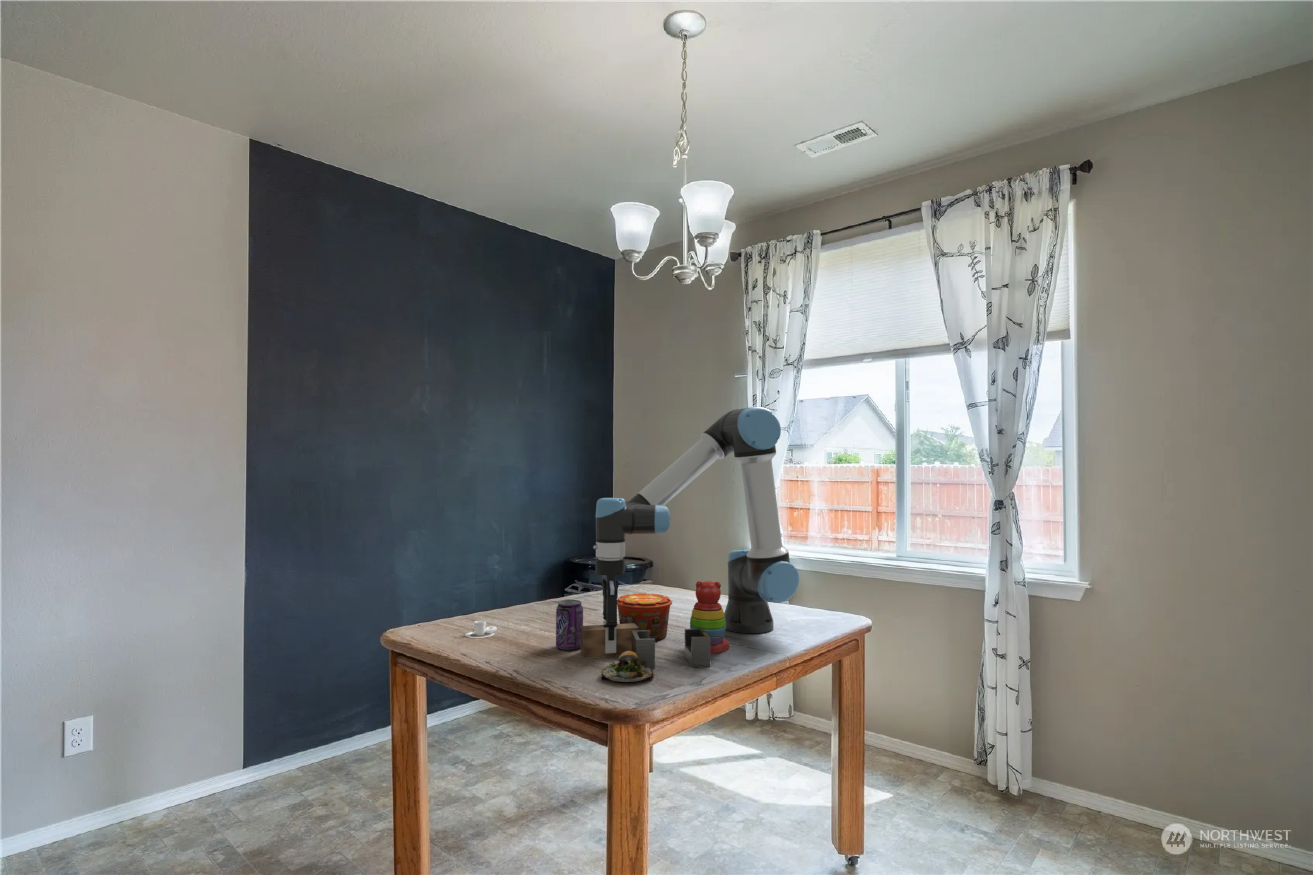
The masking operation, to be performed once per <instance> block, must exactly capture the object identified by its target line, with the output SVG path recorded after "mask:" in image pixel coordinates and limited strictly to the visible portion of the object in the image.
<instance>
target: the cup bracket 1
mask: <svg viewBox="0 0 1313 875" xmlns="http://www.w3.org/2000/svg"><path fill="white" fill-rule="evenodd" d="M632 652H634V653H636V654H637V657H638V660H637V662H640V663H641V665H643V666H646V667H649V668H651V669H652V670H655V669H656V641H655V639H654V638H650V630H638V631H632Z"/></svg>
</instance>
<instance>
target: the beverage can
mask: <svg viewBox="0 0 1313 875" xmlns="http://www.w3.org/2000/svg"><path fill="white" fill-rule="evenodd" d="M557 604H558V605H557V607H556V609H555V646H556V647H557V648H558V649H560V650H562V651H574V650H578V649H579V648H581V626H584V608H583V604H582V601H581V600H578V599H562V600H559V601H558V602H557Z"/></svg>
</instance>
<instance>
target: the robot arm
mask: <svg viewBox="0 0 1313 875" xmlns="http://www.w3.org/2000/svg"><path fill="white" fill-rule="evenodd" d="M781 431H782V428H781V423H780V421H779V419H778V417H777V416H776V414H775V413H774V412H773V411H772V410H770V409H768V408H766V407H761V406H749V407H746V408H739V409H738V408H737V409H733V410H729V411H727V412H726V413H724V414H723V415H722V416H721V417H719V418H718V419H717V420H716V421H714V422H713V423H712V424H711V425H710V426H709V427H708V428H707V429H705V431H703V432H702V433H701V434H700V439H699V440H698V441H697V442H695V443H694V444H693V445H692V446H691V447H689V449H688V450H686V451H685V452H684V453H683V454H682V455H681V456H680V457H679V458H677V459H676V460H675V461H673V463H672V464H670V465H669V466H668V467H667V468H666V469H664V470H663V471H662V472H661V473H660V474H659V475H658V476H656V477H655V478H654V479H652V481H651V482H649V483H648V484H647V485H646V486H645V487H643V488H642V489H641V490H640V491H639V492H637V493H636V495H634V496H633V497H632V498H631V499H630V500H627V501H626V500H625V499H624V498H622V497H602V498H599V499H598V500H597V501H596V505H595V506H596V508H595V516H594V517H595V544H594V545H593V546H592V548H593V549H594V550H595V557H596V558H597V559H595V573H596V575H599V576H604V578H602V579H601V587H602V598H603V599H602V617H603V618H602V619H603V624H602V625H603V628H605V653H616V626H617V624H618V605H617V599H618V598H619V597H618V593H619V591H618V590H619V581H618V580H617V579H616V576H620V575H624V573H625V571H626V569H625V568H626V565H625V564H626V560H625V559H624V558H625V557H626V535H651V534H652V535H654V534H655V535H658V534H665V533H667V532H668V531H669V529H670V526H671V513H670V509H669V508H668V506H666V504H667V503H669V502H670V501H671V500H672V499H673V498H675V496H677V495H678V494H679V493H680V492H681V491H683V490H684V489H685V488H686V487H687V486H688V485H689V484H691V483H692V482H693V481H694V480H695V479H697V478H698V477H699V476H700V475H701V474H702V473H703V472H704V471H706V470H707V469H708V468H709V467H711V465H713V464H714V463H715V462H716V461H717V460H723V459H725V458H726V457H727V456H729V455H730V454H731V453H733V456H734V459H735V460H736V461H737V462H739V463H740V469H741V475H742V476H741V477H742V483H743V493H744V499H745V507H746V508H745V509H746V515H747V524H748V532H749V539H750V549H743V550H742V549H736V550H731V551H729V553H728V555H727V556H728V558H727V593H728V594H727V597H728V598H727V603H726V606H725V609H724V617H725V621H726V625H725V626H726V628H725V631H726V630H727V631H730V632H733V633H740V634H741V633H742V634H761V633H762V634H763V633H769V632H771V631H773V630H774V618H773V615H772V612H771V609H770V606H769V603H773V604H781V603H785V602H787V601H788V600H790V599H791V598H792V597H793V596H794V594H795V593H796V592H797V590H798V588H799V584H800V575H799V571H798V569H797V568H796V567H795V566H794V564H792V563H791V562H790V553H789V552H790V551H789V550H788V548H786V547H785V546H784V545H783V541H782V533H781V525H780V517H779V511H778V510H779V508H778V500H777V493H776V485H775V478H774V476H775V475H774V468H773V462H772V461H773V458H774V457H775V456H776V455H777V447H776V445H777V443H778V441H779V440H780V438H781V433H782V432H781Z"/></svg>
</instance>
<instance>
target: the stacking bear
mask: <svg viewBox="0 0 1313 875" xmlns="http://www.w3.org/2000/svg"><path fill="white" fill-rule="evenodd" d="M721 585H722V584H721V583H720V582H719V581H711V580H705V581H702V580H697V581H696V583H695V587H696V588H695V598H696V600H697V601H696V602H695V603H694V605H693V608H692V610H691V616H690V618H689V619H690V620H689V629H698V628H702V629H703V630H704V631H705V632H706V633H707V634H708V635H709V636H710V655H712V654H713V655H714V654H719V653H723V652H725V651H727V650H728V649H729V648H730V642H729V641H728V640H727V639H725V637H724V636H725V634H726V629H725V628H726V626H725V625H726V621H725V617H724V612H725V610H724V609H723V607H722V605H721V603H720V602H719V600H720V599H721V595H722V592H721V591H722V590H721Z"/></svg>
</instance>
